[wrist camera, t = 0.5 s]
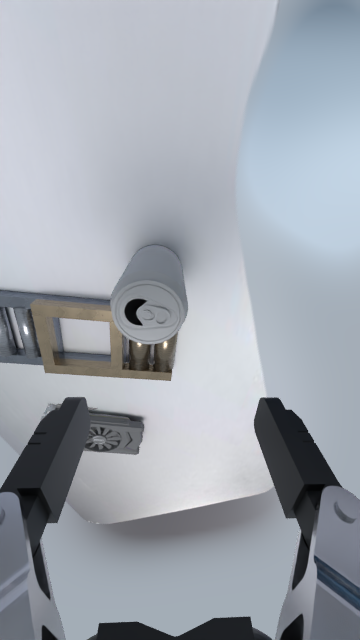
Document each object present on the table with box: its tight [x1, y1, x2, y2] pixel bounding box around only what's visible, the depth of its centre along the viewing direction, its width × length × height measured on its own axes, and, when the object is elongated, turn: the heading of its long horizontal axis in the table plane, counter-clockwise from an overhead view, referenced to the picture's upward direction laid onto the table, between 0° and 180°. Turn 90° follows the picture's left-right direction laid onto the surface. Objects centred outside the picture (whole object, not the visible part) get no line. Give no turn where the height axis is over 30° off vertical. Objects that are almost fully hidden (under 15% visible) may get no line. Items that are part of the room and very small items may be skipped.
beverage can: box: [110, 245, 188, 344], centre depth 23 cm, size 6×6×12 cm
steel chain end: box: [0, 290, 126, 365], centre depth 31 cm, size 11×18×2 cm, turn 83°
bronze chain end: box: [30, 299, 178, 381], centre depth 31 cm, size 11×18×3 cm, turn 83°
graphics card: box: [41, 404, 144, 455], centre depth 41 cm, size 17×4×12 cm
